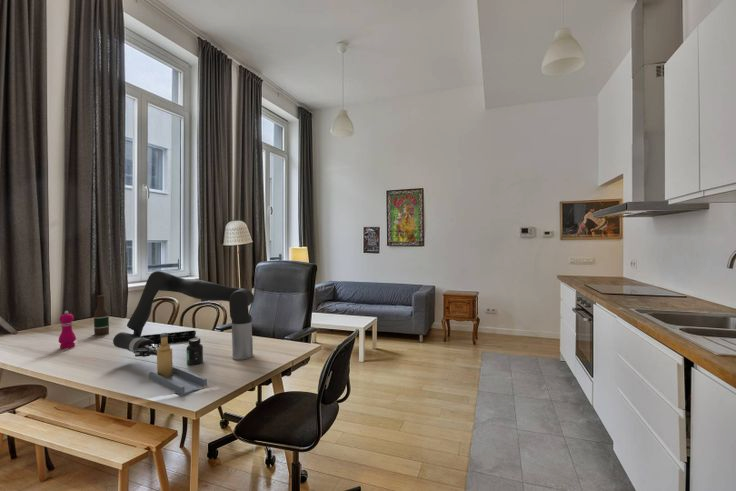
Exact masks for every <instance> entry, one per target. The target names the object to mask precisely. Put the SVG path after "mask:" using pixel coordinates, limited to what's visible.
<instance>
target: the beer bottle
mask: <svg viewBox="0 0 736 491" xmlns="http://www.w3.org/2000/svg"><path fill="white" fill-rule="evenodd" d="M93 314H94V315H93V332H94V336H104V335H109V333H110V322H109V321H110V319H109V316H110V314H109V310H108V309H107V308H106V305H105V295H104V294H100V295H98V296H97V308H96V310H95V311H94V313H93Z"/></svg>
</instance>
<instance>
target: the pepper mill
mask: <svg viewBox="0 0 736 491" xmlns="http://www.w3.org/2000/svg"><path fill="white" fill-rule="evenodd" d="M74 319H75V316H74V315H73V314H72V313H69V311H68V310H64V314H62V315H61V316H60V317H59V322H60V326H61V333H60V335H59V337H58V343H59V344H60V345H59V349H60V348H61V350H67V349H66V348H68V349H72V348H75V346H76V343H75V341H76V339H77V336H76V335H75V332H74V331H73V325H74V324H73V321H74ZM71 347H72V348H71Z"/></svg>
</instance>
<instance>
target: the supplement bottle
mask: <svg viewBox="0 0 736 491" xmlns="http://www.w3.org/2000/svg"><path fill="white" fill-rule="evenodd" d="M185 351H186V365H187V366H190V367H193V366H198V365H201V364H203V363H204V346H203V344H201V338H200V337H195V338H193V339H190V340H189V341H188V345H187V347H186V350H185Z"/></svg>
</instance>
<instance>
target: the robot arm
mask: <svg viewBox="0 0 736 491" xmlns="http://www.w3.org/2000/svg"><path fill="white" fill-rule="evenodd" d="M160 291H161V292H163V291H164V292H171V293H172V292H173V293H180V294H183V295H185V296H187V297H190V298H194V299H198V300H203V301H209V302H210V301H213V302H215V301H218V302H219V301H220V302H228V304H229V316H230V320H231V343H232V344H231V345H232V347H231V349H232V351H231V352H232V359H233V360H236V361H237V360H238V361H242V360H247V359H251V358H253V357H254V351H253V350H254V347H253V346H254V345H253V343H254V340H253V339H254V338H253V327H252V326H253V323H252V322H253V321H252V315H251V314H250V313H249V306H250V305H251V304H253V302H254V299H255V295H254V293H253V292H252V291H251V290H249V289H247V288H242V287H241V288H239V287H232V286H226V285H224V284H223V285H222V284H219V283H215V282H211V281H208V280H207V281H206V280H202V279H197V278H195V279H194V278H185V277H184V278H183V277H180V276H177V275H174V274H171V273H169V272H165V271H160V270H156V271H153V272H151V273H150V274H149V275H148V278H147V280H146V283H145V285H144V288H143V291H142V293H141V296H140V299H139V301H138V303H137V305H136V307H135V309H134V311H133V313H132V315H131V317H130V318H129V319H128V322H127V324H126V327H127V328H128V329H130V330H132V331H133V333H130V332H129V333H128V332H124V331H122V332H119V333H116V335H114V337H113V340H112V344H113V345H114V346H115V347H116V348H118V349H122V350H123V349H124V350H127V351H129V352H131V353H133V354H134V357H142V358H143V357H144V358H145V357H150V356H154V357H155V356H156V357H157V351H158V350H159V346H160V344H155V343H154V342H153V341H152V340H149V339H146V338H143V337H141V336H142V332H143V330H144V327H145V325H146V324H147V322H148V321H149V318H150V316H151V313H152V308H153V302H154V300H155V297H156V296H157V294H158V293H159V292H160Z"/></svg>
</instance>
